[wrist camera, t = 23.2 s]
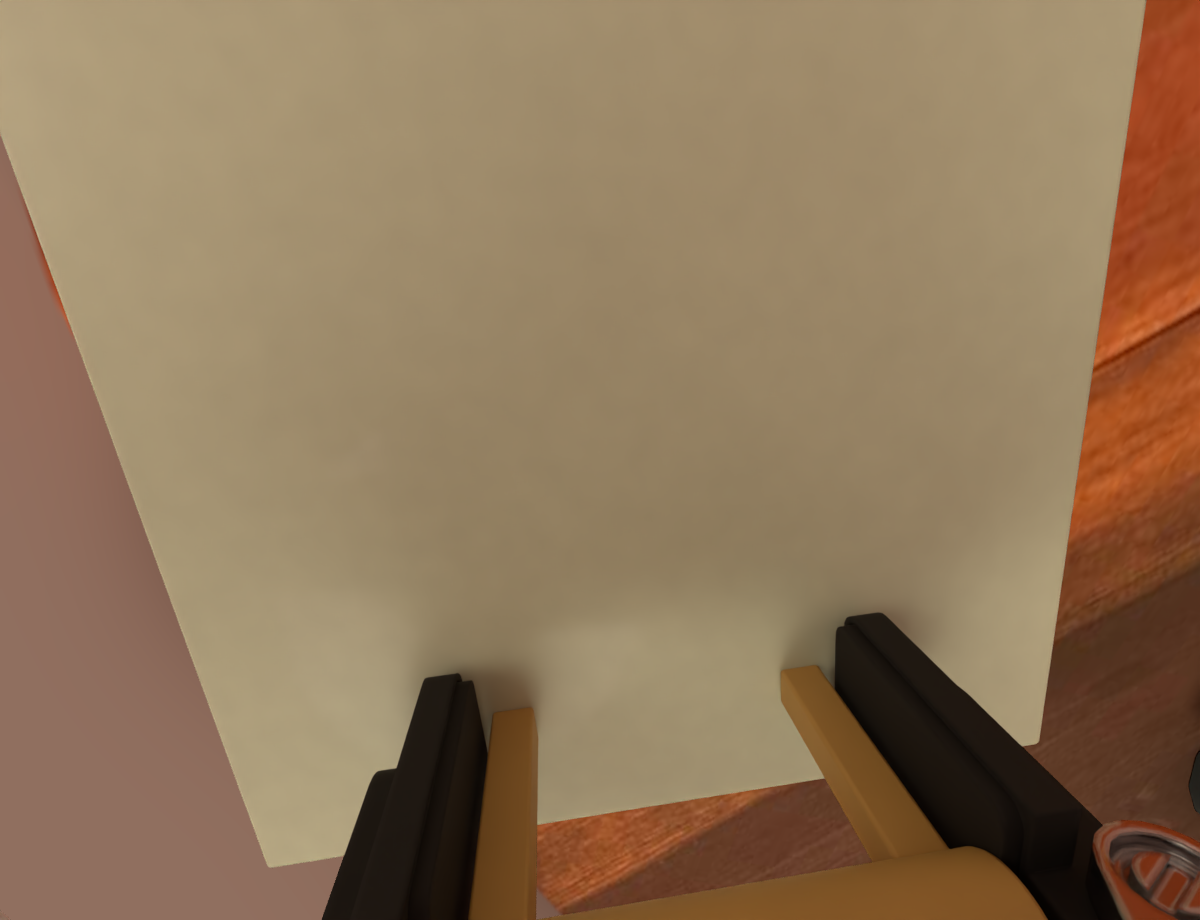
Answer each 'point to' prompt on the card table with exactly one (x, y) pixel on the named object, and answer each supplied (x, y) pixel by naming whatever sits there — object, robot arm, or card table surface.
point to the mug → (1195, 784)
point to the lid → (590, 383)
